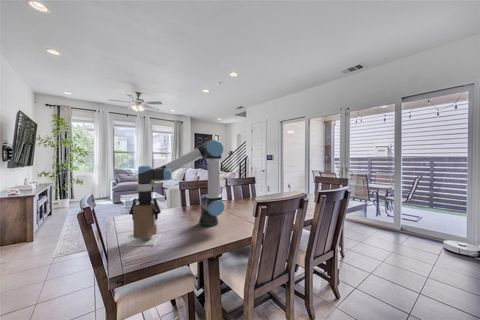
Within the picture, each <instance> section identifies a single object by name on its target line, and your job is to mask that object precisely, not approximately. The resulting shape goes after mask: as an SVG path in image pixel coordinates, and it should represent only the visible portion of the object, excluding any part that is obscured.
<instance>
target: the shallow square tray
mask: <svg viewBox="0 0 480 320" xmlns="http://www.w3.org/2000/svg"><path fill="white" fill-rule="evenodd" d="M162 236H163V233H156V234H155V235H153V236H152V237H150V238H148V239H139V238H134V237H133V238H132V239H131V240H129V242H127V244H126V245H125V247H149V246H153V247H154V246H155V245H156V244H157V243H158V242H159V240H160V239H161V238H162Z"/></svg>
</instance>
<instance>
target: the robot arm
mask: <svg viewBox="0 0 480 320" xmlns="http://www.w3.org/2000/svg"><path fill="white" fill-rule="evenodd" d="M223 153H224V145H223V143H222V142H221V141H219V140H215V139H211V140H207V141H205V142H203V143H202V144H201V145H199V146H196V147H195V148H194V150H192V151H190V152H188V153H185V154H183V155H182V156H180V157H178V158H175V159H173V160H172V161H170V162H167V163H165V164H163V165H161V166H159V167H156V168H152V166H151V165H139V166H138V169H137V170H138V171H137V179H138V181H137V183H138V184H137V185H138V186H137V187H138V191H137V193H138V195H137V196H138V198H134V199H132V204H131V208H130V210H129V213H128V214H129V215H132V219H133V207H134V206H136V205H151V204H152V202H153V203H154V205H155V207H156V209H155V208H152V211H153V212H154V225H156V222H157V220H158V219H159V214H161V213H162V211H161V209H160V206H159V203H158V198H157V197H155V198H152V195H153V194H152V182H153V181H169V180H171V179H172V173H174V172H176V171H178V170H180V169H182V168H184V167H186V166H188V165H190V164H193V163H194V162H195V161H197V160H199V159H200V160H202V159H205V160H206V161H207V193H206V194H202V195H201V196H200V217H199V220H198V225H199V226H201V227H206V228H207V227H214V226H217V225H218V224H219V219H218V216H220V215H222V214H223V212H224V211H225V203H224V202H223V195H222V194H221V181H220V180H221V179H220V175H221V174H220V173H221V172H220V161H221V160H222V154H223ZM137 203H138V204H137Z"/></svg>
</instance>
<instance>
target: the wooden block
mask: <svg viewBox="0 0 480 320" xmlns="http://www.w3.org/2000/svg"><path fill="white" fill-rule="evenodd" d="M151 203H152V202H151ZM152 208H155V209H156V207H155V205H154V202H153V203H152V204H151V205H138V204H136V205H135V206H134V207H133V218H132V222H133V223H132V224H133V225H132V226H133V239H134V238H139V239H148V238H150V237H152V236H153V235H155V234H158V232H157V230H158V229H157V221H156V225H154V212H153V211H152Z"/></svg>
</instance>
